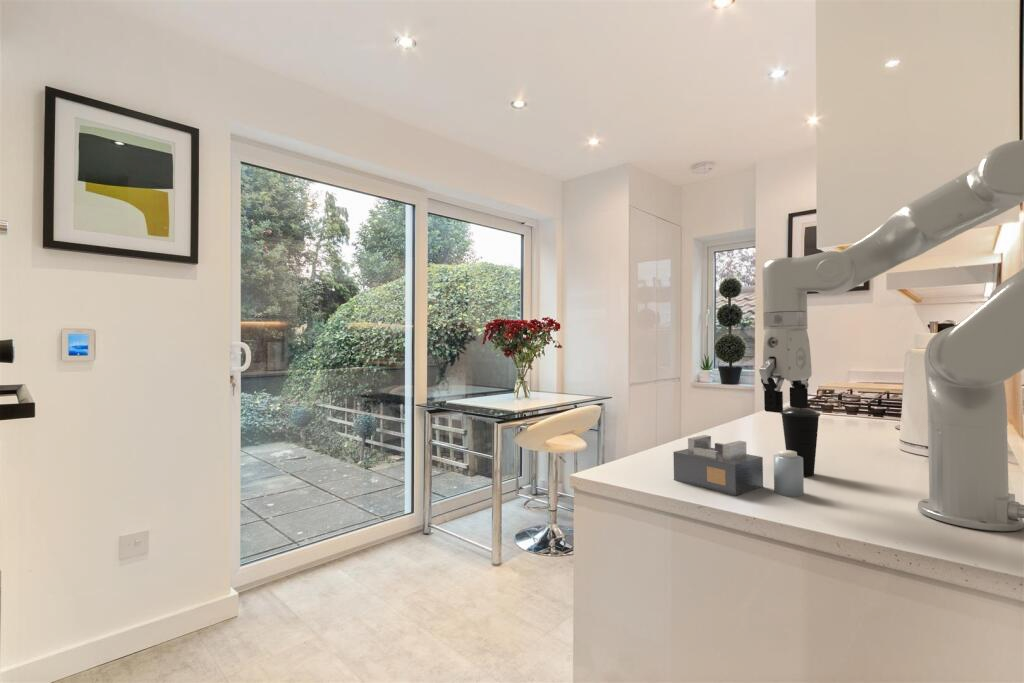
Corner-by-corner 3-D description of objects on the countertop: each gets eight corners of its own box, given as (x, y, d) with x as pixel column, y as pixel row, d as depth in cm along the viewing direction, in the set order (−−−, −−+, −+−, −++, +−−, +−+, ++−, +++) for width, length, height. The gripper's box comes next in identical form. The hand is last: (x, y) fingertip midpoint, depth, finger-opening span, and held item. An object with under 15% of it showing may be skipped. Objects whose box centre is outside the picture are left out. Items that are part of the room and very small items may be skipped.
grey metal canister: (808, 493, 93) (807, 452, 93) (796, 498, 90) (795, 455, 90) (782, 487, 97) (781, 447, 97) (769, 492, 94) (768, 451, 94)
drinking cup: (810, 469, 110) (808, 382, 111) (828, 478, 103) (826, 385, 103) (775, 469, 111) (773, 382, 111) (791, 478, 104) (789, 385, 104)
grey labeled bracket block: (763, 486, 98) (762, 442, 98) (735, 496, 92) (734, 448, 92) (701, 472, 109) (701, 432, 109) (673, 479, 104) (673, 437, 104)
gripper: (782, 320, 86) (784, 416, 86) (826, 321, 96) (828, 407, 96) (742, 322, 92) (743, 411, 92) (787, 323, 102) (788, 404, 102)
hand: (786, 409), depth 94 cm, fingers open, 9 cm apart
